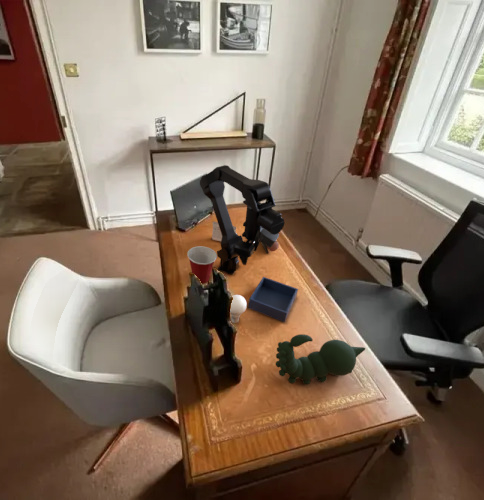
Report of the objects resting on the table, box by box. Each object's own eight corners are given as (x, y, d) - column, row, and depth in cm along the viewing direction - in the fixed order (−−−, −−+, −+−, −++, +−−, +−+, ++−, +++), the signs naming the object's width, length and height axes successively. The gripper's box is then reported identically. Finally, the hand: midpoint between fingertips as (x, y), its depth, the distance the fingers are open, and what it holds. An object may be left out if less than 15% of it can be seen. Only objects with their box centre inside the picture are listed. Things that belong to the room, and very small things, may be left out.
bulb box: (248, 307, 110) (249, 298, 107) (261, 285, 119) (263, 276, 117) (284, 322, 105) (286, 313, 102) (295, 297, 114) (298, 288, 112)
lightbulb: (224, 314, 107) (226, 290, 100) (242, 313, 107) (245, 290, 101) (226, 329, 102) (228, 305, 95) (245, 328, 102) (249, 304, 96)
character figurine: (267, 236, 147) (277, 256, 135) (252, 236, 145) (261, 256, 134) (270, 222, 142) (282, 241, 131) (255, 222, 141) (265, 241, 129)
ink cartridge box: (213, 236, 145) (214, 218, 139) (236, 242, 141) (238, 224, 136) (211, 239, 143) (212, 221, 137) (234, 245, 139) (236, 227, 134)
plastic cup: (218, 286, 118) (220, 261, 111) (189, 290, 116) (189, 264, 109) (212, 268, 126) (213, 243, 119) (186, 271, 124) (185, 246, 117)
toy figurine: (281, 398, 85) (367, 380, 88) (287, 356, 74) (385, 337, 77) (270, 367, 93) (350, 352, 96) (274, 325, 82) (364, 309, 84)
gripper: (267, 240, 93) (261, 280, 103) (286, 214, 107) (279, 251, 116) (233, 230, 97) (230, 269, 107) (256, 205, 111) (251, 242, 120)
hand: (249, 257), depth 112 cm, fingers open, 9 cm apart
